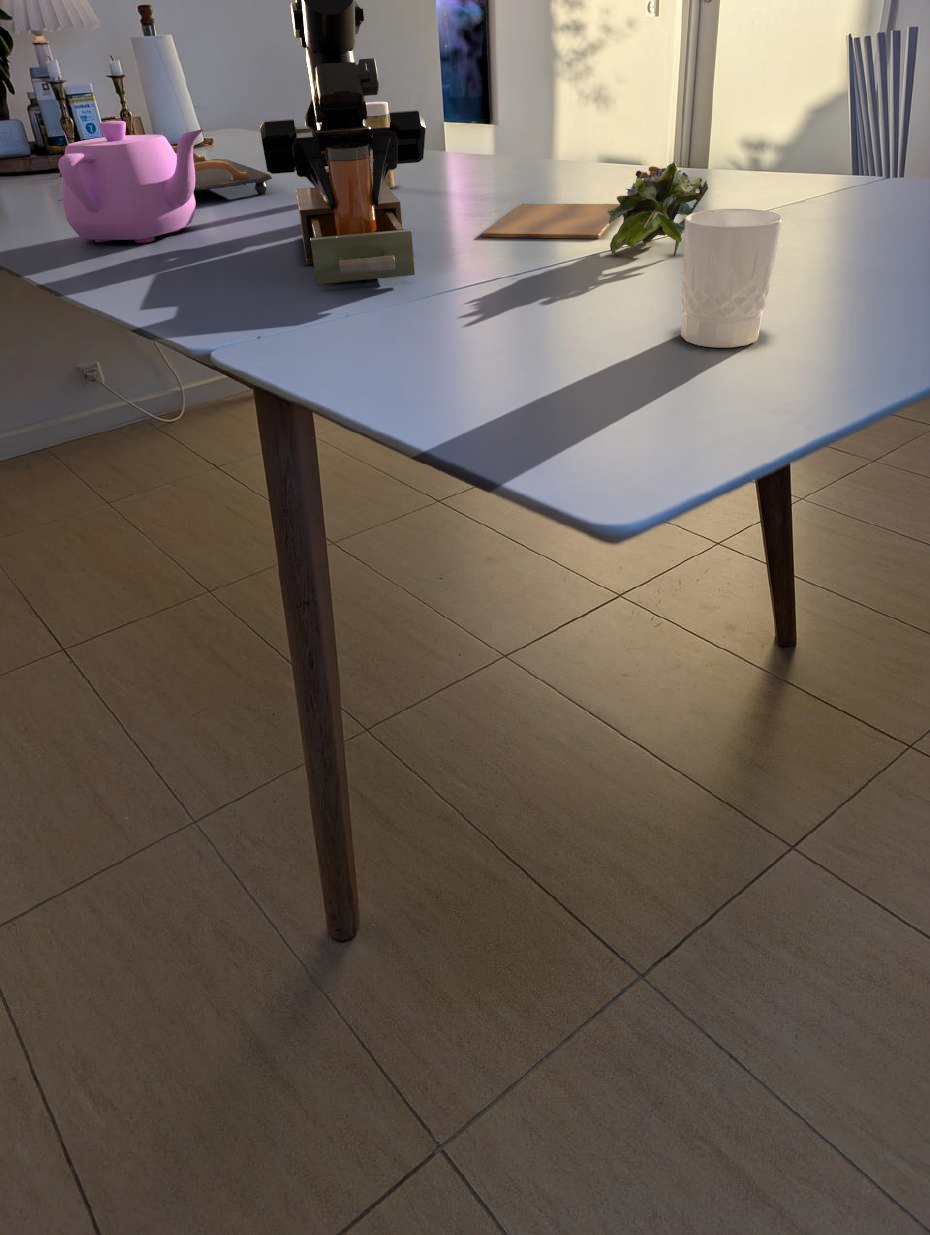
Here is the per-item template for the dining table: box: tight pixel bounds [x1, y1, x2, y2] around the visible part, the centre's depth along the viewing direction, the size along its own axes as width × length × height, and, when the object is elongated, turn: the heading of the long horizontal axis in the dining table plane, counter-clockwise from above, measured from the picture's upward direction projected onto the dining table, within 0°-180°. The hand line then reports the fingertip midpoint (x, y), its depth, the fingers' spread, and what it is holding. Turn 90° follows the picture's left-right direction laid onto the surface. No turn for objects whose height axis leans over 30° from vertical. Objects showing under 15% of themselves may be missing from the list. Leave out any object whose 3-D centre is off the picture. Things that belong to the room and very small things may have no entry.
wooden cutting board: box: [481, 203, 620, 240], centre depth 127 cm, size 16×22×1 cm
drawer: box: [310, 209, 416, 285], centre depth 104 cm, size 21×11×5 cm, turn 11°
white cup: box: [680, 208, 783, 349], centre depth 77 cm, size 8×8×10 cm
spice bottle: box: [325, 143, 377, 236], centre depth 103 cm, size 5×5×11 cm
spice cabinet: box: [295, 182, 403, 266], centre depth 118 cm, size 17×12×6 cm
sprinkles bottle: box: [365, 101, 395, 189], centre depth 156 cm, size 5×5×14 cm
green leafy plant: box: [608, 161, 709, 257], centre depth 107 cm, size 11×11×12 cm
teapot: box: [58, 120, 205, 244], centre depth 127 cm, size 23×21×15 cm
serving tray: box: [171, 145, 273, 196], centre depth 167 cm, size 39×23×6 cm, turn 28°
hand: (354, 206), depth 102 cm, fingers closed on spice bottle, 5 cm apart
